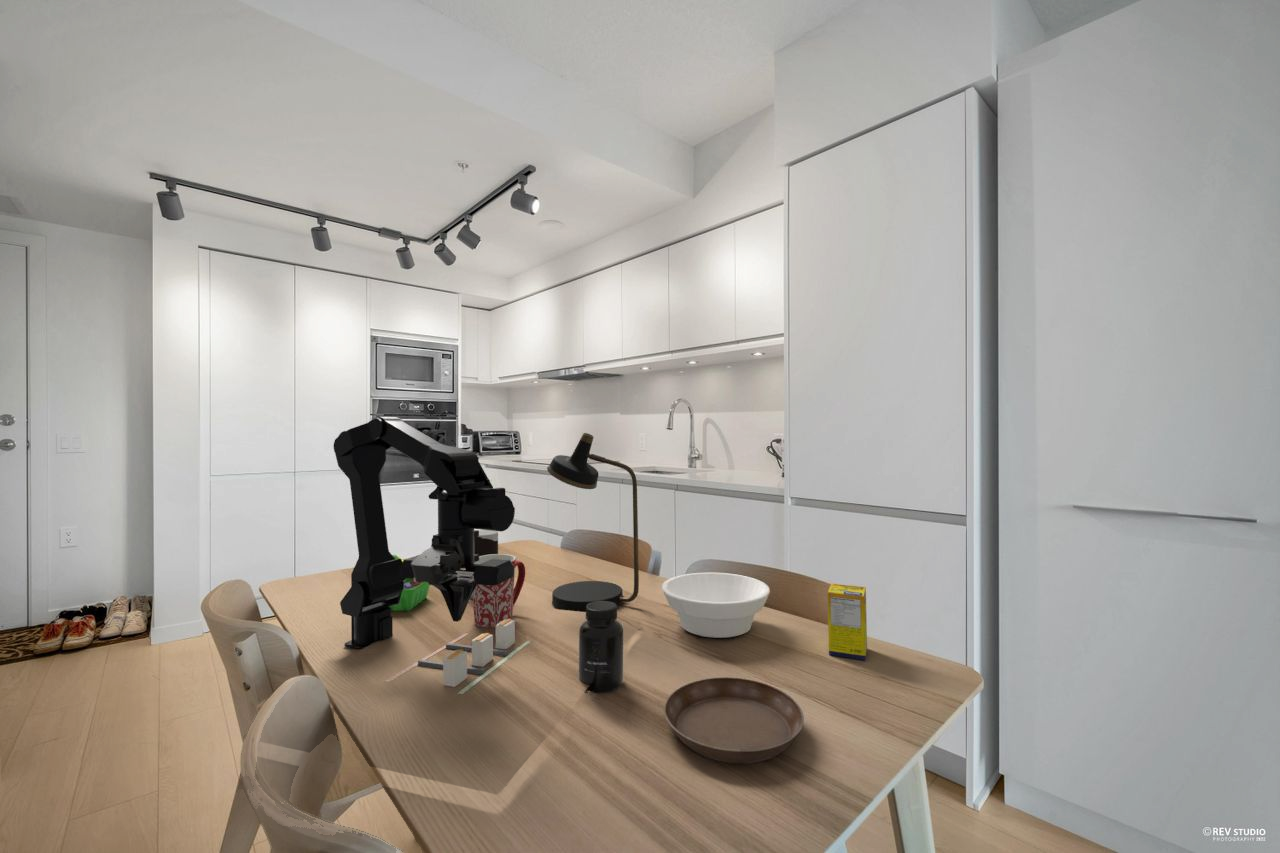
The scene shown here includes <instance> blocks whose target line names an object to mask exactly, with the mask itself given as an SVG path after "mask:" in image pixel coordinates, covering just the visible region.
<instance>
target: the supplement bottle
mask: <svg viewBox="0 0 1280 853" xmlns="http://www.w3.org/2000/svg"><path fill="white" fill-rule="evenodd" d="M617 619H618V606H617V605H616V604H615V603H613V602H609V601H596V602H592V603H589V604H587V605H586V612H585V621H584V622H582V623H581V625H580V627H579V631H578V632H579V633H578V680H579V681H580V682H581V683H583V684H585V685H587V686H588V687H587V688H586V690H585V691H587V692H589V693H595V694H596V693H597V694H602V693H610V692H613V691H615V690H617V689H619V688H620V687H621V685H622V683H623V681H624V628H623V625H622V624H621V623H620V621H618V620H617Z"/></svg>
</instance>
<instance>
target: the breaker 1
mask: <svg viewBox="0 0 1280 853" xmlns="http://www.w3.org/2000/svg"><path fill="white" fill-rule="evenodd" d="M442 663H443V669H442V670H443V671H442V673H443V674H442V682H443V684H442V685H443V686H446V687H453V688H455V687H456V686H458V685H460V684H461V683H462V682H464V681H465V680H466V679H468V672H467V666H468V651H463V650H460V649H459V650H456V649H454V651H452V652H450V653H449V654H447V655H446V656H444V657H443V658H442Z"/></svg>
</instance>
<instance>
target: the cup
mask: <svg viewBox="0 0 1280 853" xmlns="http://www.w3.org/2000/svg"><path fill="white" fill-rule="evenodd" d="M474 554H479V556H484V555H490V554H499V531H491V530H481V529H479V536H478V537H475V538H474ZM471 599H473V596H472V595H471V597H470V600H471Z"/></svg>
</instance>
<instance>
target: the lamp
mask: <svg viewBox="0 0 1280 853" xmlns="http://www.w3.org/2000/svg"><path fill="white" fill-rule="evenodd" d="M593 441H594V435H592V434H590V433H588V432H582V436H581V437H580V439H579V441H578V444H577V445H576V446H575V449H574V450H573V452H572V454H571V455H570V456H569V455H563V454H559V455H558V454H557V455H555V456H554V457H553V458H552V460H551V462H550V463H549V465H548V466H547V467H546V469H547V472H548V473H549V474H550V475H551V476H552V477H554V478H555V479H557V480H558V481H560V482H561V483H563V484H566V485H569V486H572V487H574V488H579V489H583V490H594V489H596V488H598V487H597V486H598V479H599V471H598V469H596V468H595V467H594V466H592V465H591V464H589V463H588V460H592V461H595V462H599V463H603V464H607V465H610V466H614V467H617V468H620V469H623V470H625V471H626V472H627V473H628V474H629V475H630V476H631V477H630V478H631V480H632V524H633V529H632V530H633V533H632V534H633V536H632V537H633V592H632V594H631V596H630V597H629V596H628V597H625V595H623V593H624V592H623V587H621V586H620V585H618V584H616V583H613V582H608V581H599V580H585V581H584V580H583V581H575V582H568V583H565V584H562V585H560V586H557V587H556V588H554V589H553V590H552V592H551V593H552V595H551V597H552V600H551V605H552V606H553V608H555V609H557V610H559V611H560V610H562V611H569V612H581V613H586V605H587V604H589V603H592V602H596V601H609V602H613V603H615V604H616V605H617V607H619V606H620V605H622V603H629V602H633V601H634V600H636V598H637V597H638V594H639V587H640V586H639V584H640V581H639V580H640V579H639V578H640V574H639V570H640V569H639V566H640V565H639V522H638V521H639V520H638V518H639V517H638V513H639V512H638V483H637V475H636V474H635V472H634V469H632V468H631V467H630V466H629V465H626V464H624V463H621V462H618V461H616V460H612V459H609V458H606V457H604V456H600V455H597V454H594V453H590V451H591V448H592V444H593Z"/></svg>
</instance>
